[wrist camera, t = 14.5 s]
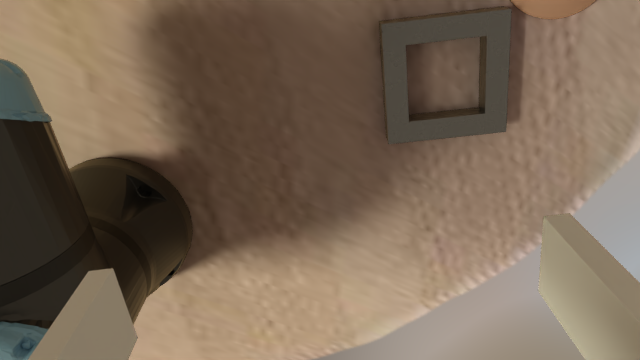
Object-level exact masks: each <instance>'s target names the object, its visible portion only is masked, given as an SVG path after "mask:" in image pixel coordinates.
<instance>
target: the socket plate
mask: <svg viewBox="0 0 640 360" xmlns="http://www.w3.org/2000/svg"><path fill="white" fill-rule="evenodd" d="M511 10H512V9H511V8H507V7H504V6H503V7H494V8H486V9H477V10H469V11H460V12H452V13H444V14H435V15H427V16H418V17H410V18H401V19H393V20H384V21H379V32H380V49H381V65H382V81H383V97H384V113H385V129H386V138H387V141H388V144H395V143H405V142H414V141H423V140H433V139H442V138H452V137H461V136H470V135H480V134H489V133H498V132H506V123H507V100H508V77H509V55H510V32H511ZM472 37H480V69H479V107H477V108H468V109H459V110H450V111H441V112H432V113H422V114H413V115H409V112H408V88H407V63H406V45H412V44H420V43H429V42H438V41H446V40H455V39H464V38H472Z"/></svg>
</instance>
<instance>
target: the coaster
mask: <svg viewBox="0 0 640 360" xmlns="http://www.w3.org/2000/svg"><path fill="white" fill-rule="evenodd" d="M510 1H511V2H512V3H513V4H514V5H515V6H516V7H517V8H518V9H519V10H521V11H523V12H524V13H526V14H528V15H531V16H534V17H537V18H542V19H559V18H565V17H568V16H571V15H574V14H576V13H578V12H580V11H582V10H583V9H585V8H587V7H588V6H589V5H591V4H592V3H593V2H595V1H596V0H510Z"/></svg>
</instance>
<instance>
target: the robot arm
mask: <svg viewBox="0 0 640 360" xmlns="http://www.w3.org/2000/svg"><path fill="white" fill-rule="evenodd" d="M51 121H52V119H51V117H50V116H49V115H48V114H47V113H45V112H44V109H43V107H42V105H41V103H40V101H39V99H38V97H37V94H36V92H35V90H34V88H33V86H32V84H31V82H30V80H29V78H28V76H27V74H26V73H25V72H24V71H23V70H22V69H21V68H20V67H19V66H17V65H16V64H14V63H12V62H10V61H8V60H5V59H0V360H128V359H129V356H130V354H131V352H132V350H133V347H134V345H135V343H136V340H137V338H138V337H137V334H136V331H135V329H134V326H133V324H134V322H135V320H136V318H137V316H138V314H139V312H140V310H141V308H142V306H143V304H144V302H145V300H146V298H147V297H148V296H149V295H150V294H152V293H153V292H154V291H155V290H157V289H158V288H159V287H160V286H161V285H163V284H164V283H166V282H167V281H168V280H169V279H170V278H172V277H173V276H174V274H175V273H176V272H177V271H178V270H179V268H180V267H181V265H182V263H183V261H184V259H185V257H186V255H187V252H188V250H189V248H190V245H191V240H192V221H191V216H190V213H189V210H188V208H187V205H186V203H185V202H184V200H183V198H182V197H181V195H180V194H179V192H178V191H177V190H176V189H175V188H174V186H173V185H172V184H171V183H170V182H168V181H167V180H166V179H165V178H164V177H162V176H161V175H160V174H158V173H157V172H155V171H153V170H152V169H150V168H148V167H146V166H143V165H141V164H138V163H135V162H132V161H128V160H124V159H117V158H100V159H93V160H89V161H85V162H83V163H80V164H78V165H76V166H74V167H72V168H71V169H69V168H68V166H67V163H66V161H65V158H64V156H63V153H62V151H61V148H60V146H59V143H58V141H57V138H56V136H55V134H54V131H53V129H52V126H51V124H50V122H51ZM538 291H539V293H540V294H541V296H542V297H543V299H544V300H545V302H546V303H547V305H548V306H549V307H550V309H551V310H552V312H553V313H554V315H555V316H556V318H557V319H558V321H559V322H560V324H561V325H562V326H563V328H564V329H565V331H566V332H567V334H568V335H569V337H570V338H571V340H572V341H573V342H574V344H575V345H576V347H577V348H578V350H579V351H580V352H581V354H582V356H583V357H584V358H585V360H640V283H639V282H638V281H637V280H636V279H635V278H634V277H633V276H632V275H631V274H630V273H629V272H628V271H627V270H626V269H625V268H624V267H623V266H622V265H621V264H620V263H619V262H618V261H617V260H616V259H615V258H614V257H613V256H612V255H611V254H610V253H609V252H608V251H607V250H606V249H605V248H604V247H603V246H602V245H601V244H600V243H599V242H598V241H597V240H596V239H595V238H594V237H593V236H592V235H591V234H590V233H589V232H588V231H587V230H586V229H585V228H584V227H583V226H582V225H581V224H580V223H579V222H578V221H577V220H576V219H575V218H574V217H573V216H572V215H571V214H570V213H569V214H560V215H552V216H544V218H543V233H542V247H541V261H540V276H539V290H538Z"/></svg>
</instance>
